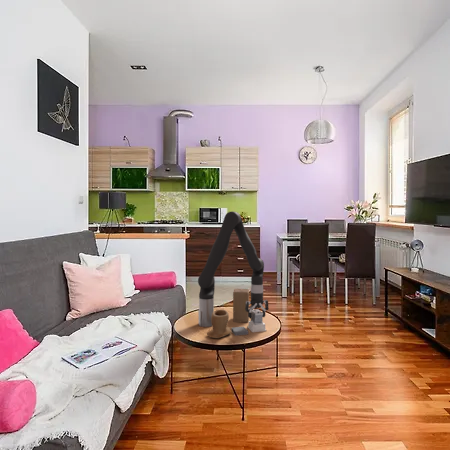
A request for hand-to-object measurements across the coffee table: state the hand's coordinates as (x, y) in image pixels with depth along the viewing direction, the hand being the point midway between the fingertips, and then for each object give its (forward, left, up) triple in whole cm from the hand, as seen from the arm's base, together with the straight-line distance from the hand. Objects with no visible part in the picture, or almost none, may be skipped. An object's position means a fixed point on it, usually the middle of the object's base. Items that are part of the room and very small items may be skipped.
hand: (256, 317), depth 213 cm
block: (-4, +19, -7) cm, 21 cm away
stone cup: (-24, -5, -7) cm, 26 cm away
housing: (0, 0, -3) cm, 3 cm away
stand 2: (0, 0, -7) cm, 7 cm away
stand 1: (-12, -3, -7) cm, 14 cm away
